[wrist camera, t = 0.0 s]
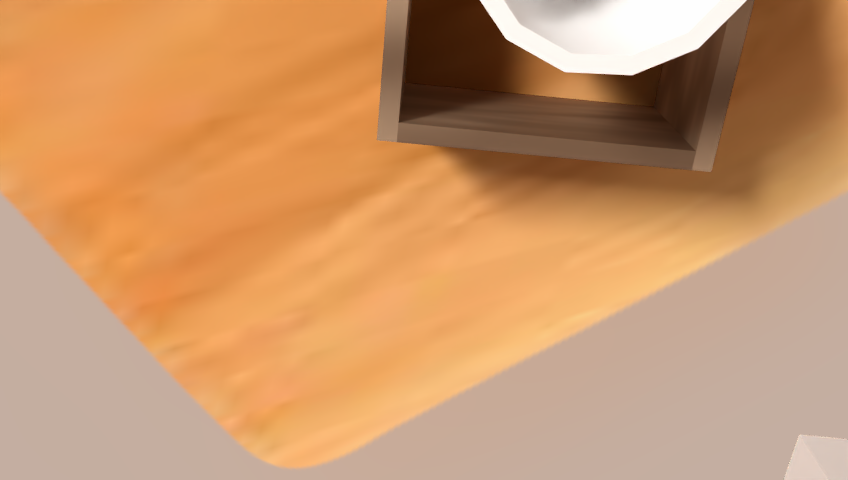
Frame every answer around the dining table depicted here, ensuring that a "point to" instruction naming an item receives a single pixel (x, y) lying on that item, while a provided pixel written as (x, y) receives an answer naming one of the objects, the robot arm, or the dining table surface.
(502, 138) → the crate
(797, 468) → the robot arm
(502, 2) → the foam cup
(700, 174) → the dining table surface
